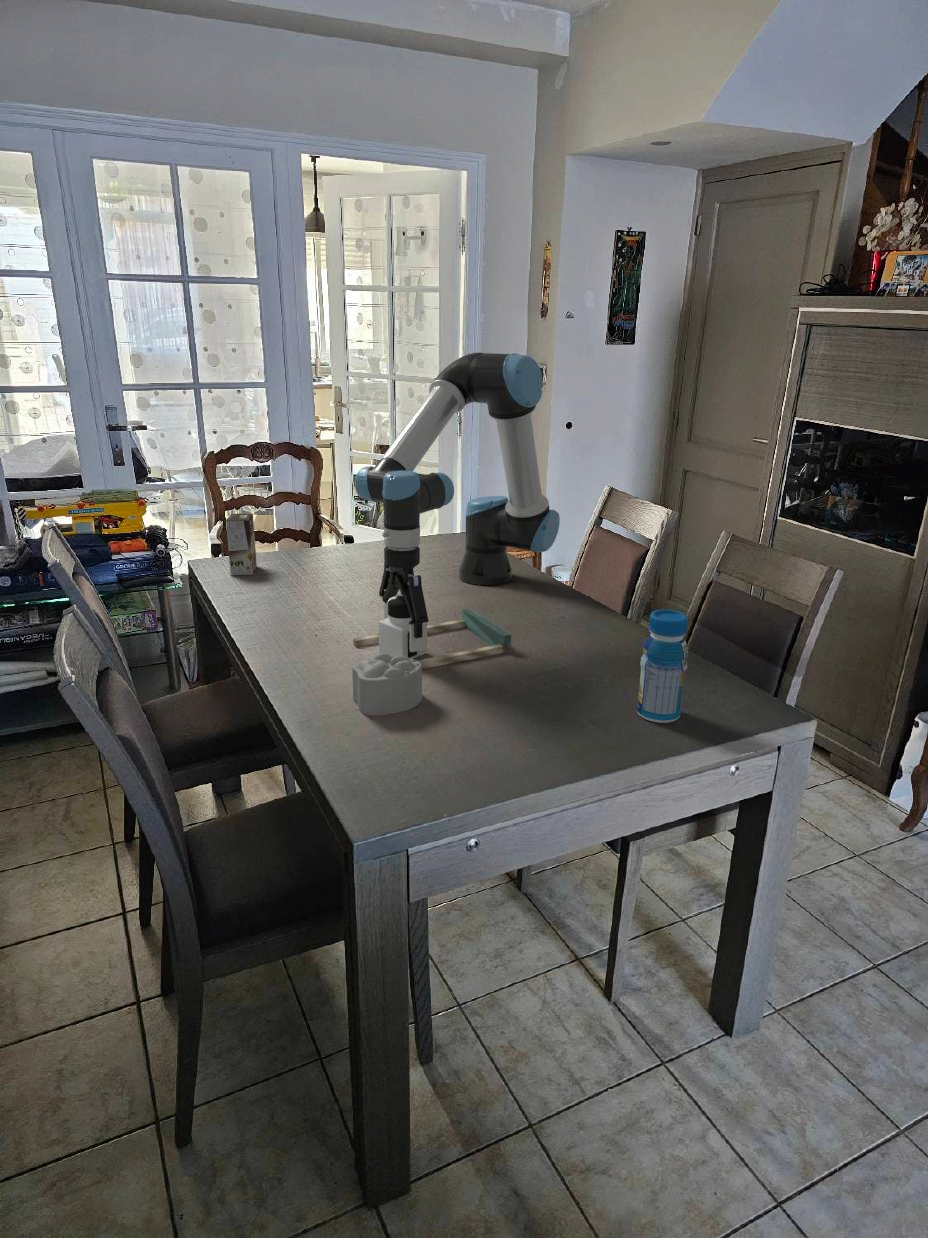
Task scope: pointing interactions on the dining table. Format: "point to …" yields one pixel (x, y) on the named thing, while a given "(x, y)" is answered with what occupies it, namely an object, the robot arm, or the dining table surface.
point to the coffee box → (241, 544)
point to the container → (398, 630)
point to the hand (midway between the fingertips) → (403, 639)
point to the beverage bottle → (663, 667)
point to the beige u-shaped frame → (469, 620)
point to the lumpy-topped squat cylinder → (387, 684)
